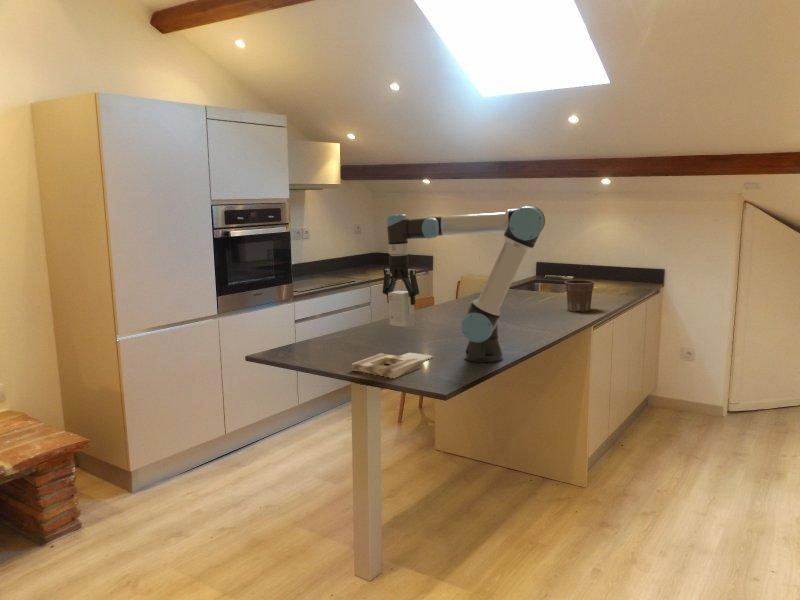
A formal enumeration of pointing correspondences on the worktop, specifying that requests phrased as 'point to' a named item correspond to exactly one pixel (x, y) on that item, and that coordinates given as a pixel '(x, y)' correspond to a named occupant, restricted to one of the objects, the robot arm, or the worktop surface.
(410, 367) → the pocket block
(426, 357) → the ceramic tile
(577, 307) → the plant pot
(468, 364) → the worktop surface
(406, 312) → the small box
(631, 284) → the worktop surface
